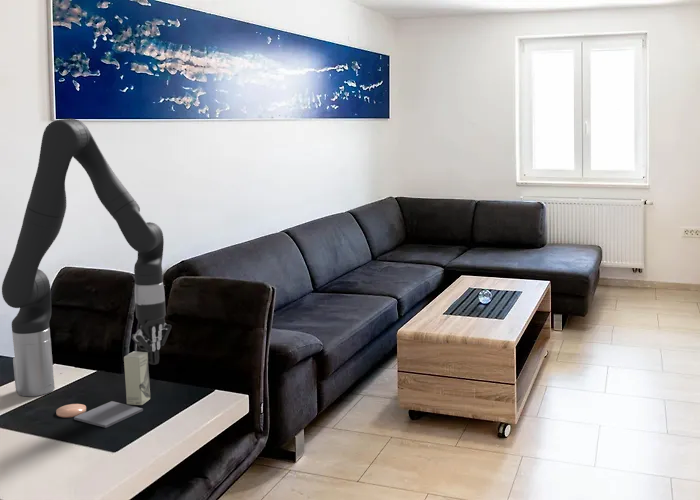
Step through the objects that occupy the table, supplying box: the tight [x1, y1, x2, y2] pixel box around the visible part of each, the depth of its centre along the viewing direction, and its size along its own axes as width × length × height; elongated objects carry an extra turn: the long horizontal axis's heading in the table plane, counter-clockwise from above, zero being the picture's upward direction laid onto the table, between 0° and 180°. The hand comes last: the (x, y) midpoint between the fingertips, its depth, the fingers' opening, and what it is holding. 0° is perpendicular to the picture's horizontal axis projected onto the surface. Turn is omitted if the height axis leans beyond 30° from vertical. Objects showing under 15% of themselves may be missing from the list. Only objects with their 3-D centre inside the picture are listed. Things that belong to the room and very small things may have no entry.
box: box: [123, 351, 151, 406], centre depth 192 cm, size 5×4×13 cm
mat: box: [73, 400, 144, 429], centre depth 185 cm, size 11×12×1 cm
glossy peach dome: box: [55, 403, 87, 418], centre depth 187 cm, size 7×7×1 cm
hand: (153, 363), depth 197 cm, fingers closed
